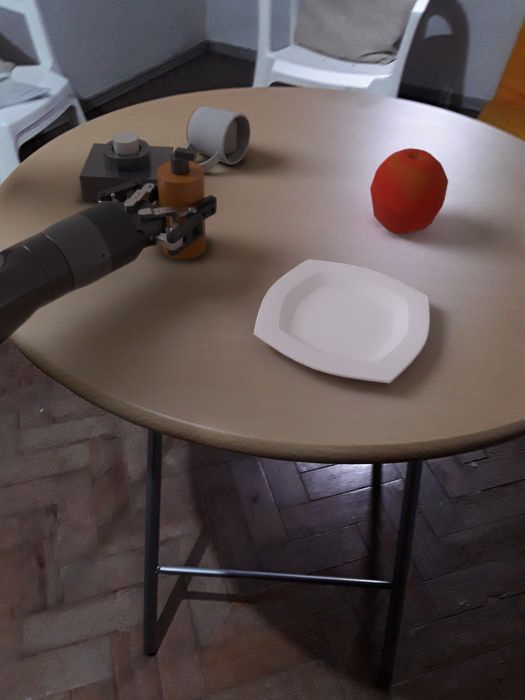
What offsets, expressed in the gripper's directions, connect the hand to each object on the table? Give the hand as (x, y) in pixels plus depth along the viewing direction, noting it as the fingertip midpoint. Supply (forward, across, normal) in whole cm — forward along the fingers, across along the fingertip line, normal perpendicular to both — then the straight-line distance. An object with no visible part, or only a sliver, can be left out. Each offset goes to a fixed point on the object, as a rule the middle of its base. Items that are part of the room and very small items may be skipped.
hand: (195, 193), depth 80 cm
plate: (0, -25, +7) cm, 26 cm away
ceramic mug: (+17, +14, +7) cm, 24 cm away
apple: (+23, -18, +7) cm, 30 cm away
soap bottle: (-2, 0, +7) cm, 7 cm away
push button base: (+3, +17, +7) cm, 19 cm away
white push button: (+3, +17, +1) cm, 17 cm away
